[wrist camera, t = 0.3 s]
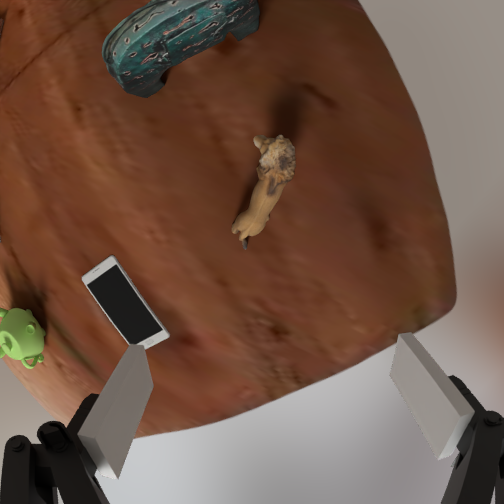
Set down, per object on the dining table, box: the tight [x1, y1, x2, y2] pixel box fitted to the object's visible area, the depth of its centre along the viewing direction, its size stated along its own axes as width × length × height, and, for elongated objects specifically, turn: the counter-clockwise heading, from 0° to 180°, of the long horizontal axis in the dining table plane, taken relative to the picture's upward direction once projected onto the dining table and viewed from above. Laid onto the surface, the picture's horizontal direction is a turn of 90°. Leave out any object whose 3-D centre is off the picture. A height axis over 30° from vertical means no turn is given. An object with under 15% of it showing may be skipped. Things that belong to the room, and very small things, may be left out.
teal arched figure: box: [102, 0, 260, 98], centre depth 25 cm, size 20×6×20 cm, turn 123°
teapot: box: [0, 308, 46, 369], centre depth 42 cm, size 11×12×8 cm
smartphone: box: [82, 255, 170, 349], centre depth 44 cm, size 8×1×15 cm
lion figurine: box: [232, 135, 296, 249], centre depth 36 cm, size 15×5×9 cm, turn 165°
